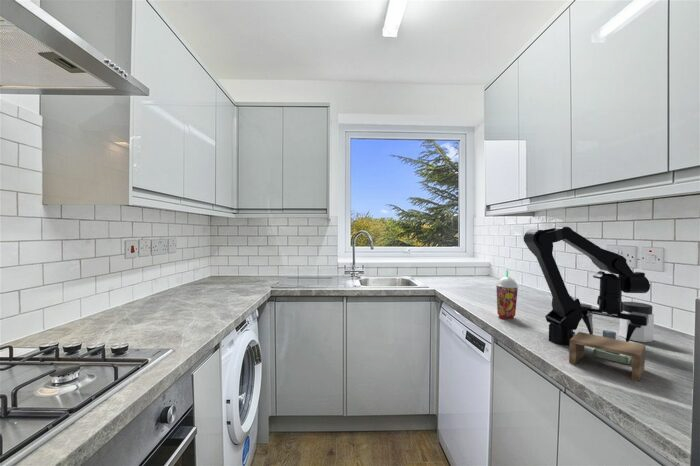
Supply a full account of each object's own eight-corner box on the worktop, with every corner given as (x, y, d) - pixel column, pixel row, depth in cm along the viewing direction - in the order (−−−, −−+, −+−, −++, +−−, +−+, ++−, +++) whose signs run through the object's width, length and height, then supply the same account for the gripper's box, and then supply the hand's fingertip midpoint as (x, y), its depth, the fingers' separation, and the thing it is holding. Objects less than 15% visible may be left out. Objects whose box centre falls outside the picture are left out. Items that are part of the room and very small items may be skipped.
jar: (653, 338, 118) (654, 304, 117) (652, 344, 112) (654, 308, 111) (620, 332, 124) (621, 300, 123) (618, 338, 118) (619, 303, 117)
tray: (593, 358, 99) (593, 349, 99) (601, 348, 108) (602, 340, 107) (628, 367, 93) (628, 357, 93) (634, 355, 102) (634, 347, 102)
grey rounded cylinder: (601, 345, 110) (601, 331, 110) (603, 342, 113) (603, 329, 112) (614, 348, 108) (614, 334, 108) (616, 345, 110) (616, 332, 110)
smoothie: (492, 314, 147) (494, 268, 146) (513, 315, 145) (514, 269, 145) (498, 319, 138) (499, 271, 138) (520, 320, 137) (521, 272, 137)
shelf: (568, 365, 94) (569, 339, 94) (578, 355, 101) (579, 331, 101) (639, 384, 83) (640, 355, 83) (644, 372, 90) (645, 345, 90)
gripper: (651, 293, 108) (649, 341, 109) (582, 285, 122) (581, 328, 122) (647, 298, 101) (645, 350, 101) (574, 289, 114) (572, 335, 115)
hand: (608, 340), depth 110 cm, fingers open, 9 cm apart
